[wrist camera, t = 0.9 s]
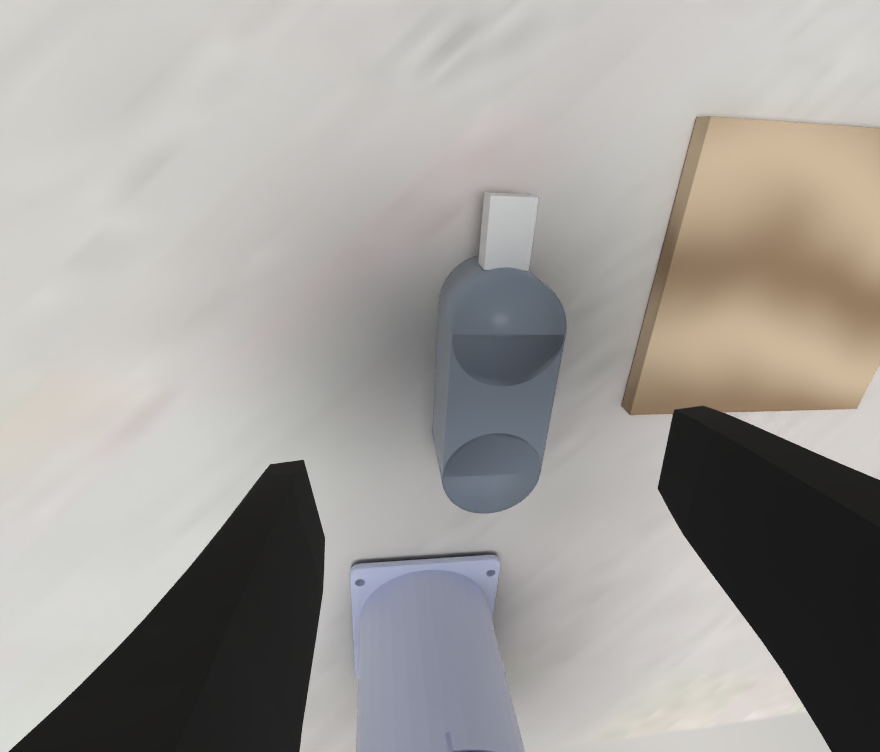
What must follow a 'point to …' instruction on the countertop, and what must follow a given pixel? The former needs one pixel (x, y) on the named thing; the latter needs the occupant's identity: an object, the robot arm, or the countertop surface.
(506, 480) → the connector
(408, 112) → the countertop surface
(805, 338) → the cork pad
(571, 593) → the countertop surface
